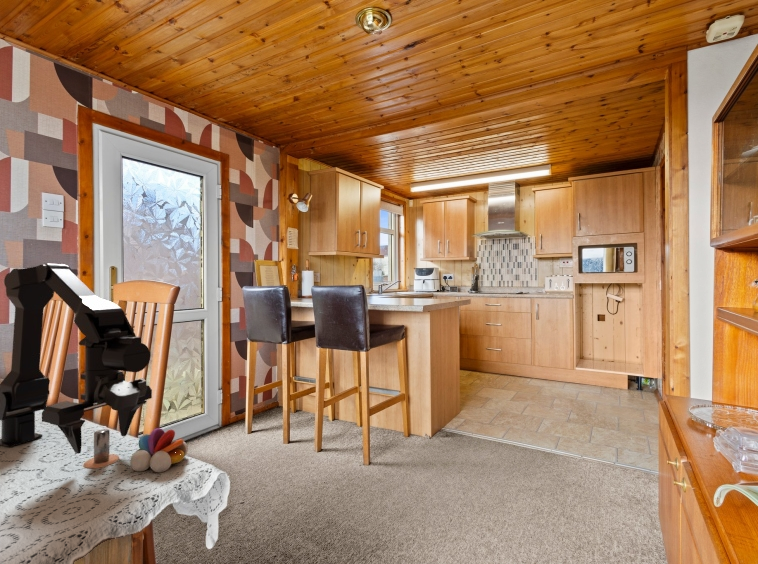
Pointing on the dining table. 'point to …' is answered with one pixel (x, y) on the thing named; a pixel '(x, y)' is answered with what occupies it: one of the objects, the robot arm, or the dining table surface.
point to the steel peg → (101, 446)
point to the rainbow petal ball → (158, 451)
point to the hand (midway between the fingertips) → (101, 444)
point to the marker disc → (91, 463)
